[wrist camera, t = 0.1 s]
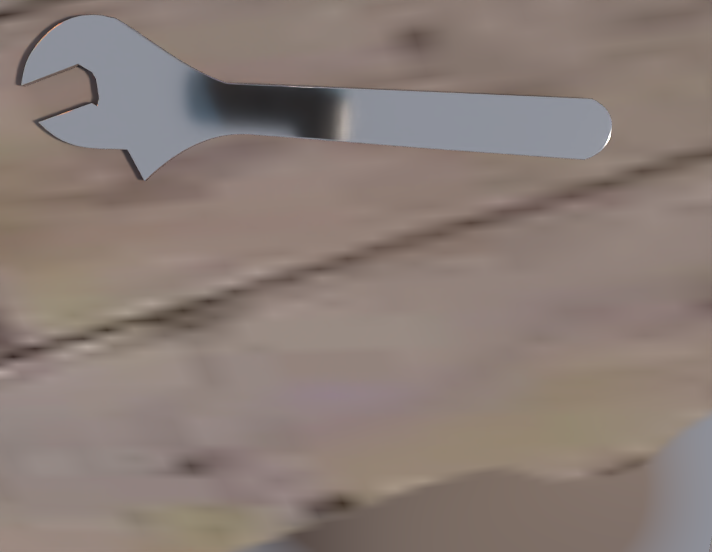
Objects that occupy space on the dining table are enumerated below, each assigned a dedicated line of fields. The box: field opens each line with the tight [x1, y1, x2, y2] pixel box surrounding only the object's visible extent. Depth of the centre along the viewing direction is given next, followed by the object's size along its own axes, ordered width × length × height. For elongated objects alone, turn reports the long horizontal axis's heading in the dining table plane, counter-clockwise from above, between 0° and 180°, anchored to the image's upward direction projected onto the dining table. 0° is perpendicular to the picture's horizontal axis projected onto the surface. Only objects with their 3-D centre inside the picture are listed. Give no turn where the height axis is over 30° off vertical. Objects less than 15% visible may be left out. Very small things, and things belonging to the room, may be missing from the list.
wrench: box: [21, 15, 612, 181], centre depth 37 cm, size 8×32×1 cm, turn 87°
